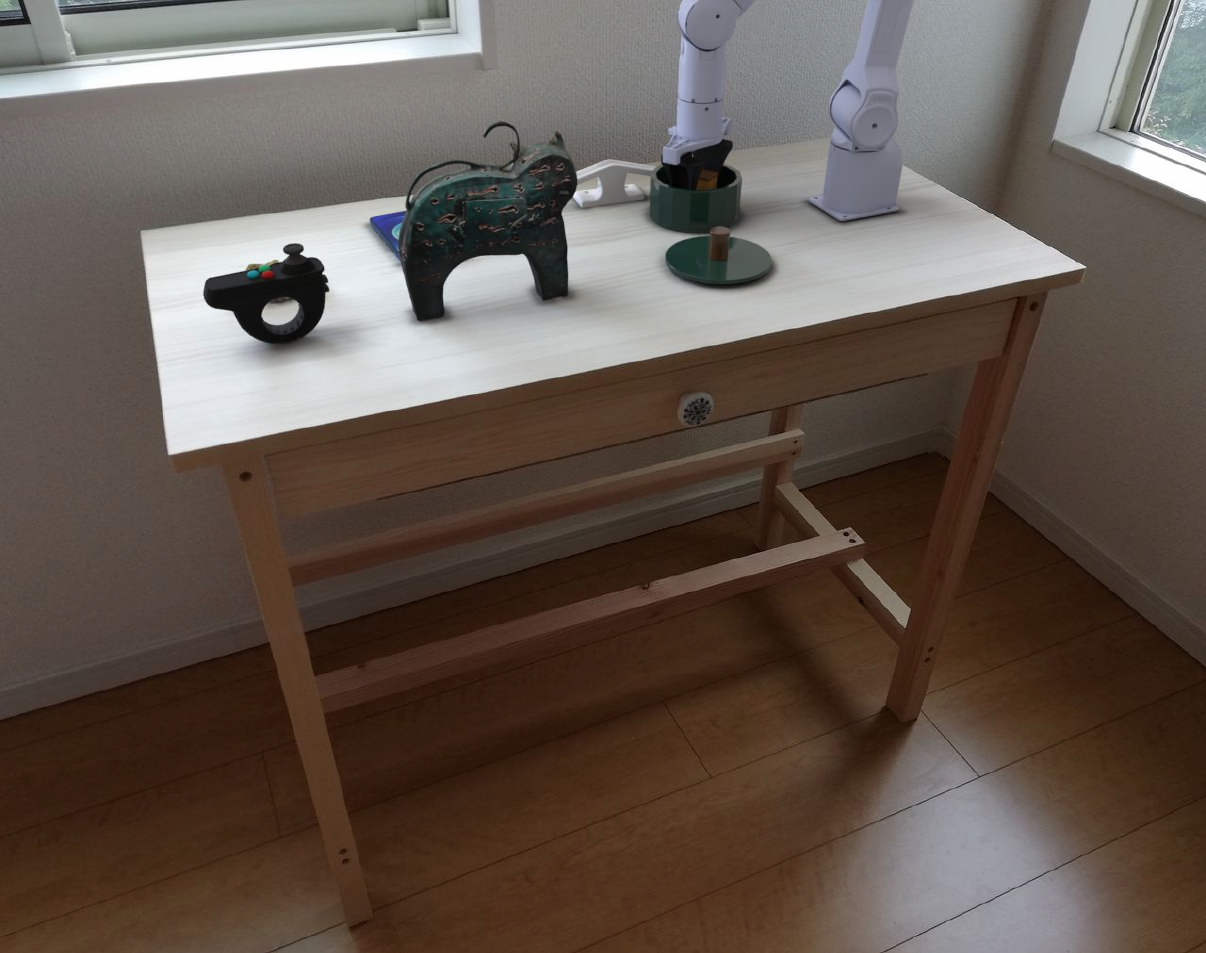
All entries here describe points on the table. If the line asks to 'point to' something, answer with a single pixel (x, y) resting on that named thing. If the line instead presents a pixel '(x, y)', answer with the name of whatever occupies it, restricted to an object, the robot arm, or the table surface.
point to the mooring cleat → (610, 183)
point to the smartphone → (389, 229)
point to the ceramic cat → (489, 220)
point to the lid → (718, 258)
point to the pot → (695, 202)
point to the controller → (273, 295)
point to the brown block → (707, 180)
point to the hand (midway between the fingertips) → (694, 202)
